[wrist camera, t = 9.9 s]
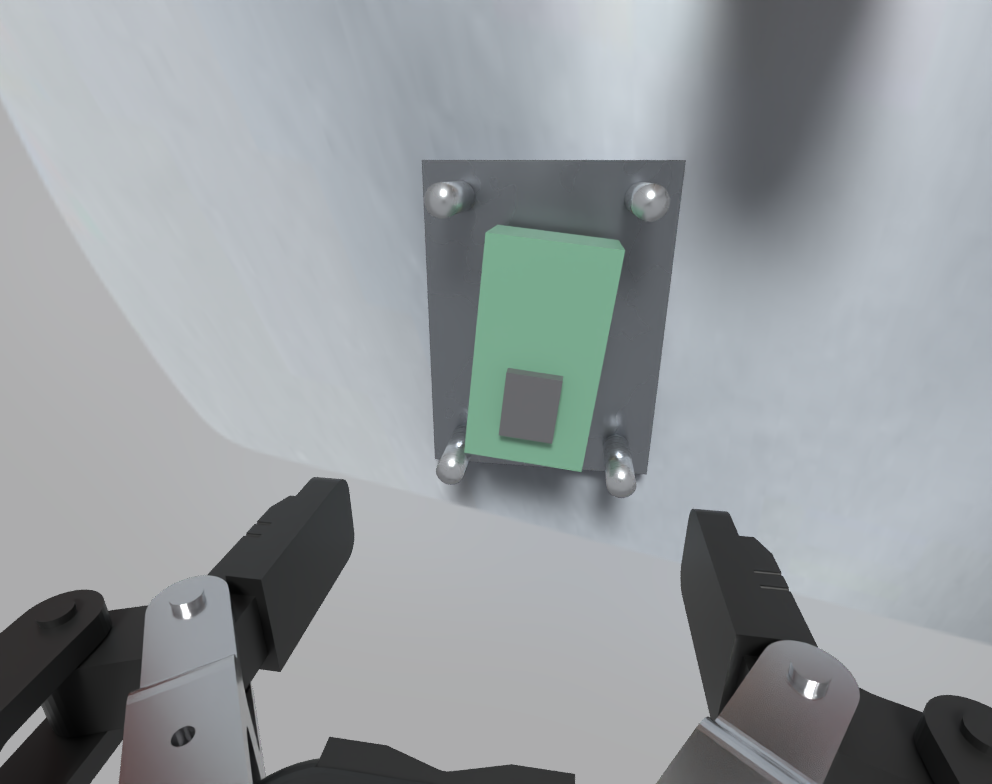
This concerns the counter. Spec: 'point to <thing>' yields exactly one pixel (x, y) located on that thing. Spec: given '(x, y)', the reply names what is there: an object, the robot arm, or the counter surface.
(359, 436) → the counter surface
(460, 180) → the chassis
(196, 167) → the counter surface
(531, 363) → the green block
